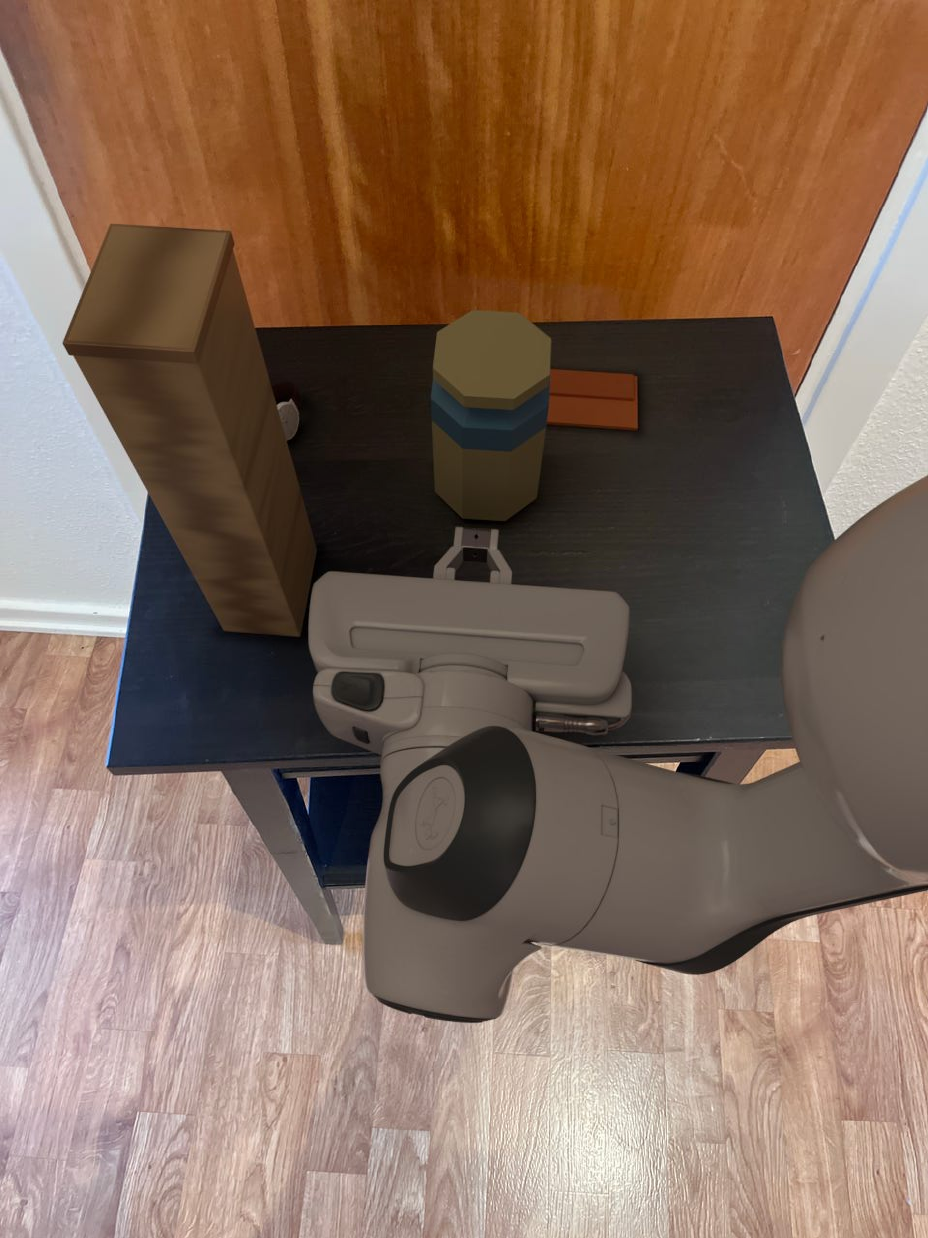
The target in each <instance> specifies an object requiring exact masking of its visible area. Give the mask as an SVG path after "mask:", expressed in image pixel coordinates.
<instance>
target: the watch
mask: <svg viewBox="0 0 928 1238" xmlns="http://www.w3.org/2000/svg"><path fill="white" fill-rule="evenodd" d="M271 387H272V390H273V394H274V398H275V401H276V402H277V401H279V400H281V399H284V398H286V397H291V398H290V399H289V401H281V402H279V403H278V404H276V405H277V408H278V412H279V416H280V419H281V423H282V426H283V430H284V433H285V437H286V441H287V442H288V441H289V440H291V439H292V438H293V437H294V436H295V435H296V433H297V431H298V427H299V421H300V417H299V416H300V411H301V409H302V407H303V399H302V396H301V393H300V391H299V388H298V386H297V384H296V383H295V382H294V381H291V380H285V381H280V382H276V383H274V384H271Z"/></svg>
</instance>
